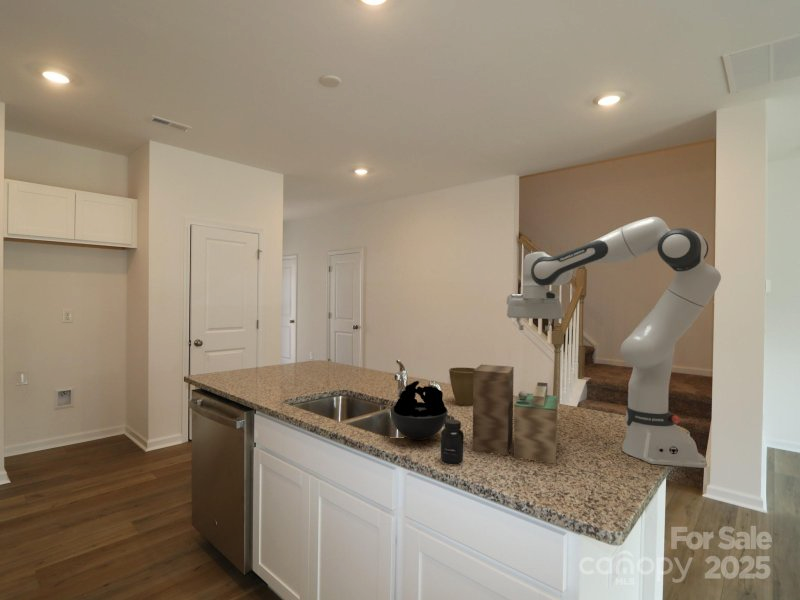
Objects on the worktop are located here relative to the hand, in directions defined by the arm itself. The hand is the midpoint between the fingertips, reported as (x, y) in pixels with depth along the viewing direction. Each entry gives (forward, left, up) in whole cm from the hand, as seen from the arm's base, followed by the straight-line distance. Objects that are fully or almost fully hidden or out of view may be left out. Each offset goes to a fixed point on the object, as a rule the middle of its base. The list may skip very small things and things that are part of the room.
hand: (534, 330), depth 159 cm
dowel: (-4, +23, -21) cm, 31 cm away
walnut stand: (+11, +28, -37) cm, 48 cm away
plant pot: (+32, -23, -37) cm, 54 cm away
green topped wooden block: (-3, +26, -37) cm, 45 cm away
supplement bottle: (+20, +45, -37) cm, 62 cm away
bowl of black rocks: (+36, +30, -37) cm, 60 cm away
